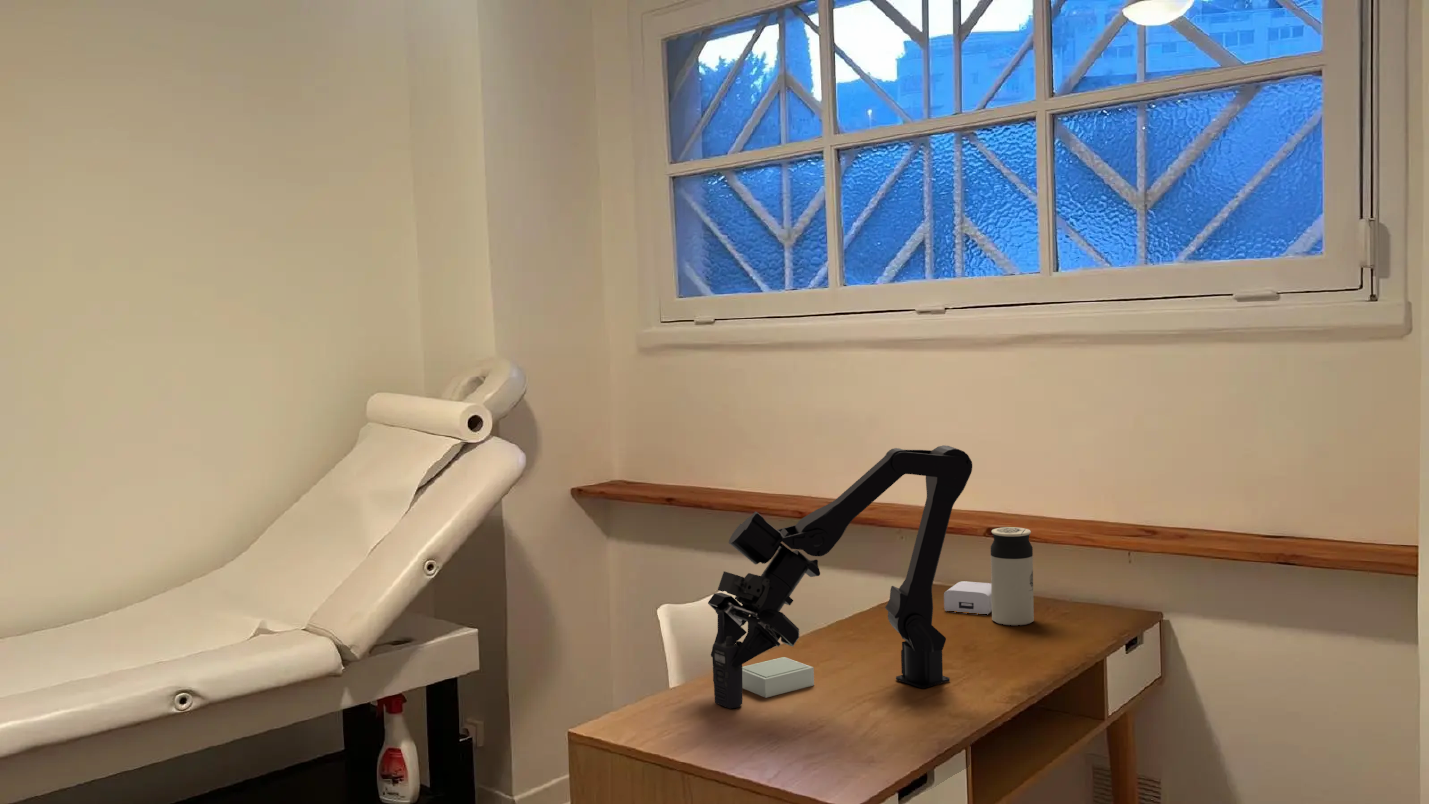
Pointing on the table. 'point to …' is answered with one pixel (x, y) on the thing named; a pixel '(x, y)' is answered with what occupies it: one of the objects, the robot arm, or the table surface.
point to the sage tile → (776, 677)
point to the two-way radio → (726, 670)
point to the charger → (969, 597)
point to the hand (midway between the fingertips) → (722, 661)
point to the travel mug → (1012, 576)
